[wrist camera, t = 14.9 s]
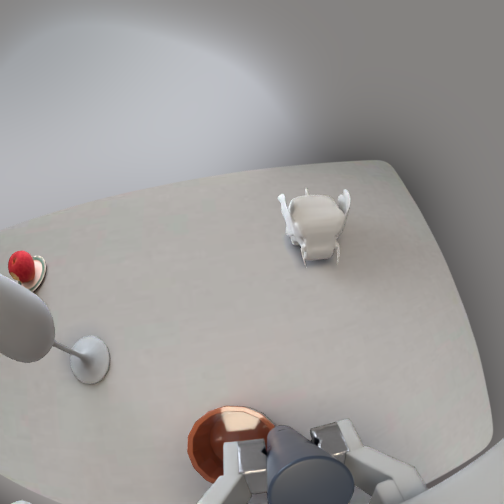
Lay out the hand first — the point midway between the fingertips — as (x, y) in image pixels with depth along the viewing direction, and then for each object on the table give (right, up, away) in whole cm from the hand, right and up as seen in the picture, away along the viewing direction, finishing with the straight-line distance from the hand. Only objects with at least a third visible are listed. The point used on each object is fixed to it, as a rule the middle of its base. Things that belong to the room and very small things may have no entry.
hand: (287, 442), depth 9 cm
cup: (-3, -14, +19) cm, 24 cm away
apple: (-42, +3, +32) cm, 53 cm away
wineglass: (-24, -8, +24) cm, 35 cm away
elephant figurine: (+7, +9, +33) cm, 35 cm away
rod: (0, -4, +5) cm, 7 cm away
